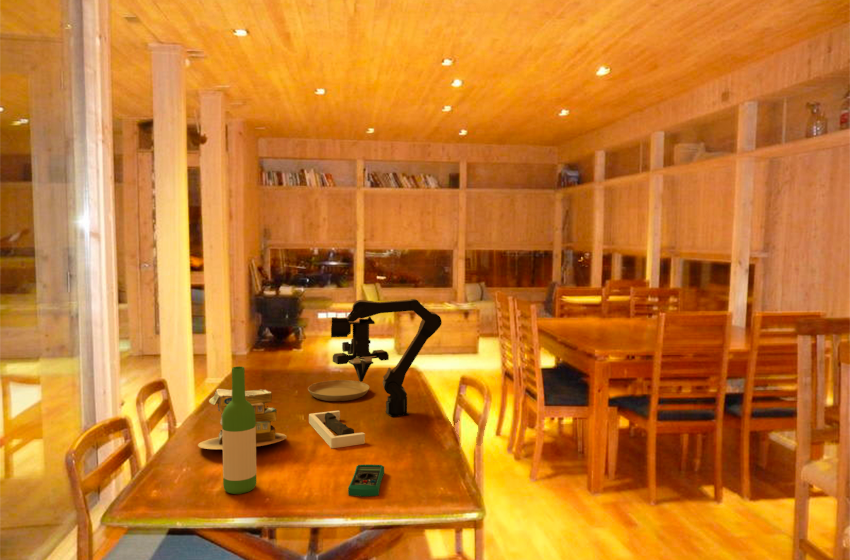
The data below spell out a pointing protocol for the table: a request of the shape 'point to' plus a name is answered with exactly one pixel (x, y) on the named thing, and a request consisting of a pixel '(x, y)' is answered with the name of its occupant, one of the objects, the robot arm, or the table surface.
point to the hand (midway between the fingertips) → (360, 381)
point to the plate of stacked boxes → (262, 417)
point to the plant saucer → (338, 390)
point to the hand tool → (337, 425)
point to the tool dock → (328, 437)
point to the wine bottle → (239, 439)
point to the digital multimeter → (366, 480)
